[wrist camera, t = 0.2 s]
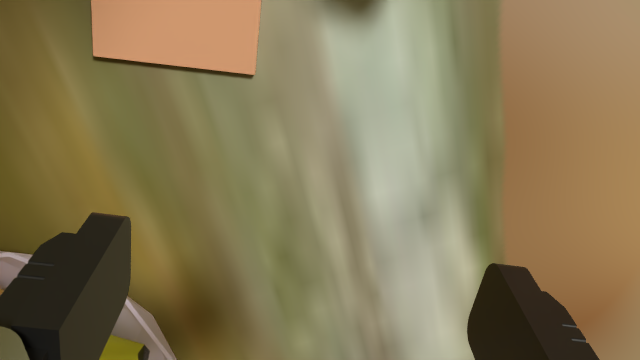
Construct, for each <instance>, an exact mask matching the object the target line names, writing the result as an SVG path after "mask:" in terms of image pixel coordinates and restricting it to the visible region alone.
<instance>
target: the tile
mask: <svg viewBox="0 0 640 360" xmlns="http://www.w3.org/2000/svg"><path fill="white" fill-rule="evenodd" d="M261 1H262V0H91V10H92V36H93V56H97V57H106V58H114V59H123V60H131V61H140V62H148V63H157V64H166V65H174V66H183V67H191V68H200V69H209V70H217V71H226V72H234V73H243V74H251V75H255V73H256V61H257V49H258V37H259V25H260V13H261Z"/></svg>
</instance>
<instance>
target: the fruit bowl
mask: <svg viewBox="0 0 640 360" xmlns="http://www.w3.org/2000/svg"><path fill="white" fill-rule="evenodd" d="M31 257H32V255H31V254H22V253H14V252H4V251H0V295H1V294H2V293H3V292H4V290H5V289H6V288H7V287H8V285H9V284H10V283H11V282H12V280H13V279H14V278H17V276H18V273H19V272H20V270H21V269H22V268H23V267H24V265H25V264H28V260H29V259H30V258H31ZM99 360H177V359H176V357H175V355H174V353H173V352H172V350H171V348H170V346H169V344H168V342H167V341H166V339H165V337H164V335H163V333H162V331H161V330H160V328H159V326H158V324H157V322H156V320H155V319H154V317H153V315H152V314H151V313H149V312H148V311H147V310H145V309H144V308H143V307H142V306H140V305H139V304H138V303H136V302H135V301H134V300H132V299H131V298H130V297H128V296H127V298H126V302H125V304H124V307H123V309H122V311H121V313H120V315H119V318H118V320H117V322H116V324H115V326H114V328H113V330H112V333H111V335H110V337H109V339H108V341H107V343H106V346H105V348H104V350H103V352H102V354H101V356H100V359H99Z"/></svg>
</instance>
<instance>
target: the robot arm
mask: <svg viewBox="0 0 640 360" xmlns="http://www.w3.org/2000/svg"><path fill="white" fill-rule="evenodd" d="M130 273H131V221H130V218H129V217H126V216H118V215H110V214H102V213H91V214H90V216H89V217H88V218H87V220H86V221H85V223H84V224H83V225H82V227H81V228H80V229H79V231H78V232H77V234H72V233H64V232H62V233H60V234H59V235H57V236H55V237H53V238H52V239H50V240H48V241H47V242H45V243H43V244H41V245H40V247H39V248H38V249H37V250H36V252H35V253H34V254H33V255H32V257H31V258H30V259H29V260H28V264H25V265H24V267H23V268H22V269H21V270H20V272H19V273H18V276H17V278H14V279H13V280H12V282H11V283H10V284H9V285H8V287H7V288H6V289H5V290H4V292H3V293H2V294H1V295H0V360H99V359H100V356H101V354H102V352H103V350H104V348H105V346H106V343H107V341H108V339H109V337H110V335H111V333H112V330H113V328H114V326H115V324H116V322H117V320H118V318H119V315H120V313H121V311H122V309H123V307H124V304H125V302H126V298H127V295H128V290H129V285H130ZM576 326H577V325H576V324H575V322H574V320H573V319H572V317H571V316H570V315H569V313H568V311H567V310H566V308H565V307H564V306H562V305H561V304H560V303H559V302H558V301H557V300H555V299H554V298H553V297H552V296H551V295H549V294H548V293H547V292H544V291H541V290H540V288H539V287H538V285H537V283H536V282H535V280H534V279H533V277H532V276H531V274H530V272H529V271H528V269H526V268H525V267H519V266H511V265H503V264H495V263H492V264H490V265H489V266H488V267H487V269H486V271H485V274H484V276H483V279H482V282H481V285H480V287H479V290H478V293H477V296H476V299H475V301H474V304H473V307H472V310H471V312H470V315H469V319H468V327H467V334H468V341H469V345H470V347H471V350H472V353H473V355H474V358H475V360H599V358H598V357H597V355H596V354H595V352H594V351H593V349H592V348H591V346H590V345H589V343H586V339H585V337H584V336H583V334H582V333H581V331H580V330H579V329H578V328H576Z"/></svg>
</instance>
